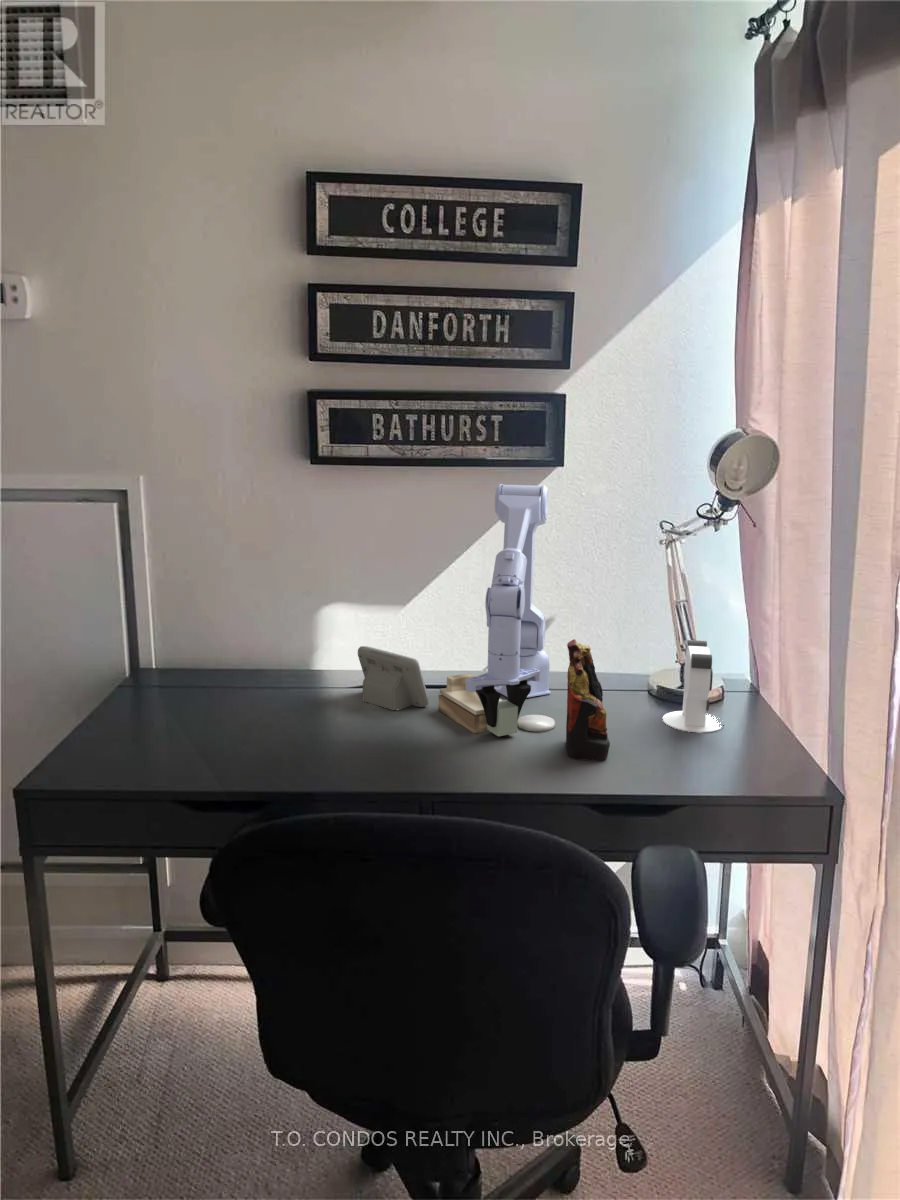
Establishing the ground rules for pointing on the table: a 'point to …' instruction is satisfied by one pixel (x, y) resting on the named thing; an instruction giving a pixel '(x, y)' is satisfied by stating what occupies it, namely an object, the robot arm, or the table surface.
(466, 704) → the lid
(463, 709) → the pencil box
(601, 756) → the statue
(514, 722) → the green block
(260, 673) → the table surface
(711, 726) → the white post on disc
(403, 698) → the digital clock
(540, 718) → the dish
